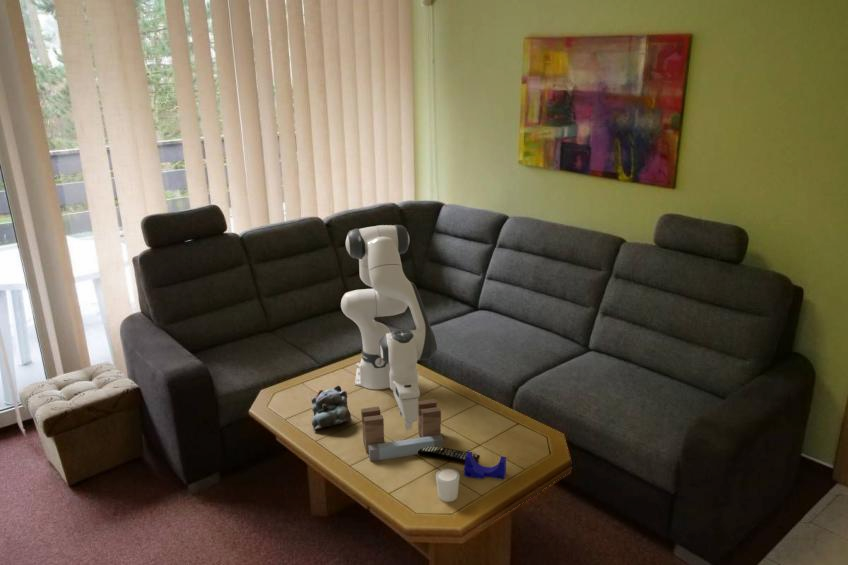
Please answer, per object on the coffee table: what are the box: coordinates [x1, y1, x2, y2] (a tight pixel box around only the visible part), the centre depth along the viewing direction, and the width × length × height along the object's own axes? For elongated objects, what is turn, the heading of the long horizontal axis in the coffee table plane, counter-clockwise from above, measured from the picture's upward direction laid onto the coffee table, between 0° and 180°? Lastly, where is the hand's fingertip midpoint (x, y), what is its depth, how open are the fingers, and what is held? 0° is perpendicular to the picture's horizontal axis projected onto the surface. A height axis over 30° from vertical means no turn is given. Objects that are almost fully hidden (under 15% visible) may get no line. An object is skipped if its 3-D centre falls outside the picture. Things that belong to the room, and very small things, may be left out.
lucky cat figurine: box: [310, 385, 352, 431], centre depth 229 cm, size 15×12×14 cm
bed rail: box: [368, 434, 444, 462], centre depth 210 cm, size 3×24×4 cm, turn 103°
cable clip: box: [463, 451, 507, 480], centre depth 197 cm, size 12×4×6 cm, turn 74°
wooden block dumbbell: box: [360, 398, 442, 454], centre depth 215 cm, size 8×25×12 cm, turn 103°
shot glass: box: [435, 468, 460, 503], centre depth 188 cm, size 7×7×7 cm
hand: (405, 421), depth 206 cm, fingers open, 8 cm apart
